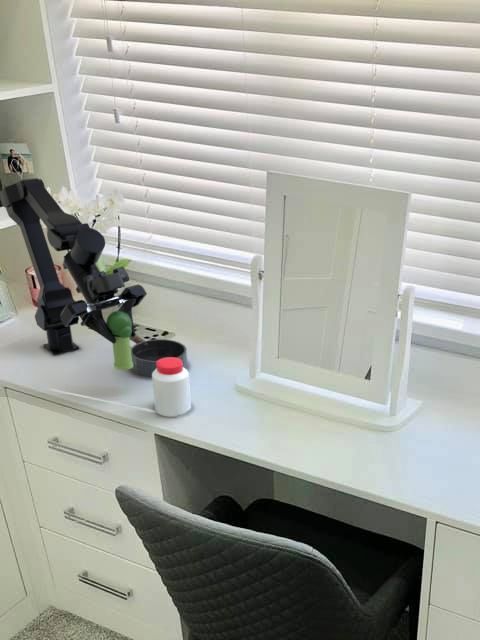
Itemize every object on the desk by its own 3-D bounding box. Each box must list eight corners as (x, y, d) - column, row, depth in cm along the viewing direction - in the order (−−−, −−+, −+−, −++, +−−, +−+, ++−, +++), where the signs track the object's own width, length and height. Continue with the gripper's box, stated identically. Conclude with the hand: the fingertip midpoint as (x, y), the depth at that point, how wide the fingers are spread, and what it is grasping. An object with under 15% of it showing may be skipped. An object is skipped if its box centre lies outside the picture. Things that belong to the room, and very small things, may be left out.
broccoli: (105, 365, 172) (98, 310, 165) (125, 358, 175) (119, 304, 168) (122, 374, 169) (116, 319, 162) (142, 367, 172) (137, 313, 165)
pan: (121, 364, 188) (119, 347, 185) (168, 351, 195) (167, 335, 193) (150, 384, 180) (148, 366, 178) (198, 370, 188) (197, 352, 185)
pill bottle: (147, 411, 169) (143, 365, 163) (168, 397, 175) (164, 352, 169) (178, 420, 167) (174, 373, 161) (198, 405, 173) (195, 359, 167)
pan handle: (126, 339, 194) (125, 332, 193) (133, 337, 195) (132, 330, 194) (143, 349, 189) (142, 343, 188) (149, 348, 190) (148, 341, 189)
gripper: (59, 265, 155) (100, 334, 155) (137, 247, 167) (174, 311, 168) (43, 293, 163) (81, 358, 164) (118, 273, 176) (154, 334, 176)
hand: (124, 339), depth 168 cm, fingers closed on broccoli, 4 cm apart
